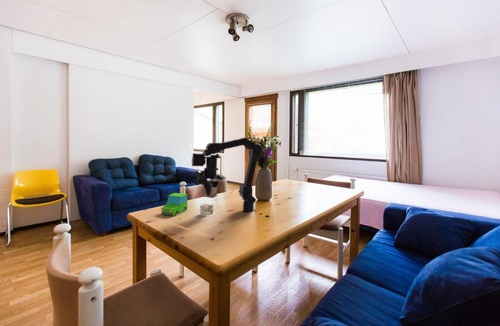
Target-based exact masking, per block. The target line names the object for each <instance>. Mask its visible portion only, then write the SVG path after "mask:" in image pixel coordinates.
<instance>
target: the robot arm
mask: <svg viewBox="0 0 500 326" xmlns="http://www.w3.org/2000/svg"><path fill="white" fill-rule="evenodd" d="M240 146H241V147H242V146H244V148H246V149H247V150H248V157H249V158H248V159H249V160H248V164H247V168H246V171H245V172H246V174H245V176H244V177H245V179H244V182H243V184H240V185H239V190H238V193H239V194H238V195H239V197H240V198H241V199H242V200H243V204H242V213H243V212H244V213H252V212H256V211H257V210H255V209H254V207H255V205H254V204H255V203H256V201H257V199H256V198H255V196H254V195H253V181H254V178H255V177H254V176H255V172H256V168H257V163H258V160H259V159H260V158H261V156H262V153H263V147H262V146H261V145H260V144H256V143H254V142H253V141H252V140H249V139H248V138H247V137H241V138H238V139H234V140H233V139H232V140H227V141H222V142H209V143H207V144H206V146H205V149H204V151H202V153H196V152H195V153H192V157H191V166H192V167H204V166H205V168H204V169H203V170H202V171H200V170H196V171H195V172H194V177H196V178H197V181H196V182H197V184H198V185H202V186H203V188H205V190H206V194H207V196H209V195H210V192H211V189H212V187H217V188H218V187H219V185H220V183H222V182H221V181H224V175H223V174H218V172H217V171H219V167H218V159H221V158H222V157H221V156H220V154H219V153H220V152H222V151H224V150H226V149H227V150H228V149H232V148H236V147H240Z"/></svg>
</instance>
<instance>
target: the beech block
mask: <svg viewBox="0 0 500 326" xmlns="http://www.w3.org/2000/svg"><path fill="white" fill-rule="evenodd" d="M199 209H200V210H199V211H200V212H199V213H200V214H202V215H206V216H208V215H210V216H212V215H211V214H213V213H214V204H212V203H207V202H206V203H202V204H200V205H199ZM202 215H201V216H202ZM213 215H214V214H213ZM206 216H205V217H206ZM208 217H209V216H208Z"/></svg>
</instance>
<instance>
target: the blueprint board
mask: <svg viewBox="0 0 500 326" xmlns="http://www.w3.org/2000/svg"><path fill="white" fill-rule="evenodd" d="M216 214H217V213H216V212H213V214H211V215H208V216H206V215H202V214H200V212H199V213H198V215H199V216H203V217H207V218H208V217H210V216H213V215H216Z"/></svg>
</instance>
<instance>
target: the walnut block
mask: <svg viewBox="0 0 500 326" xmlns="http://www.w3.org/2000/svg"><path fill="white" fill-rule="evenodd" d="M203 188H204V190H203V193H204V195H203V196H204V198H209V199H214V198H216V197H217V196H218V187H212V189H211V192H210V195H209V196H207V194H206V190H205V187H203Z"/></svg>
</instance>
